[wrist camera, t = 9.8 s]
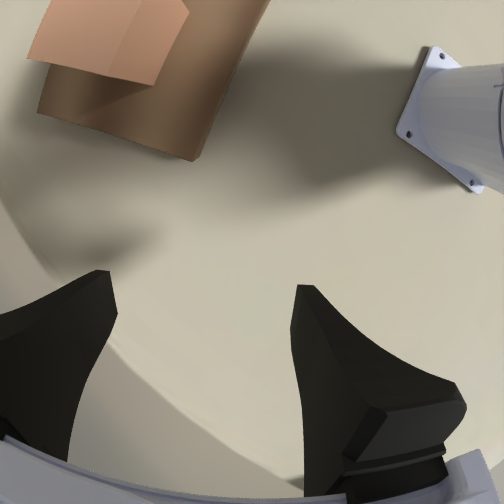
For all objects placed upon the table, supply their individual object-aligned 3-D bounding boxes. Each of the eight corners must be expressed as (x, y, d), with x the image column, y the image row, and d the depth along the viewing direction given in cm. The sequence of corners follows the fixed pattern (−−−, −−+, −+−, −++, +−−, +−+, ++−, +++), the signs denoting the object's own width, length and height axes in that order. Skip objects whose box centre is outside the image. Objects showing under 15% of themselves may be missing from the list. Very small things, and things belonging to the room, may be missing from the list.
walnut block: (270, 1, 15) (273, -16, 12) (200, 155, 19) (192, 162, 17) (118, -29, 13) (101, -43, 10) (60, 110, 18) (36, 112, 15)
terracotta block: (189, 12, 13) (160, -29, 7) (153, 86, 15) (106, 76, 9) (119, -2, 12) (71, -35, 6) (86, 67, 14) (26, 58, 8)
